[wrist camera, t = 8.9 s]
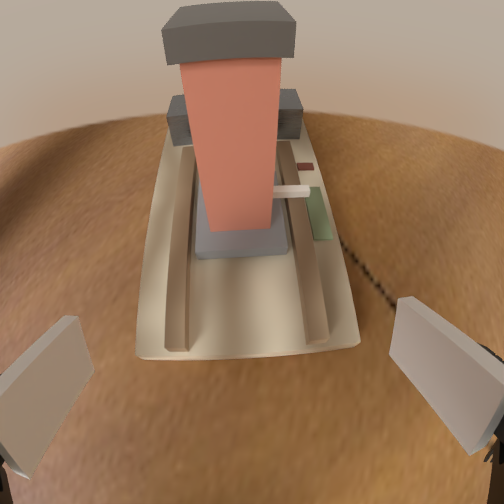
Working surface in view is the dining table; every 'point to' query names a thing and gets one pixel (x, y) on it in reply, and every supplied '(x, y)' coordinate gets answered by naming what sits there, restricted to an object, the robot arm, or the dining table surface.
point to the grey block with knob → (287, 118)
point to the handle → (235, 121)
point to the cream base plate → (243, 273)
